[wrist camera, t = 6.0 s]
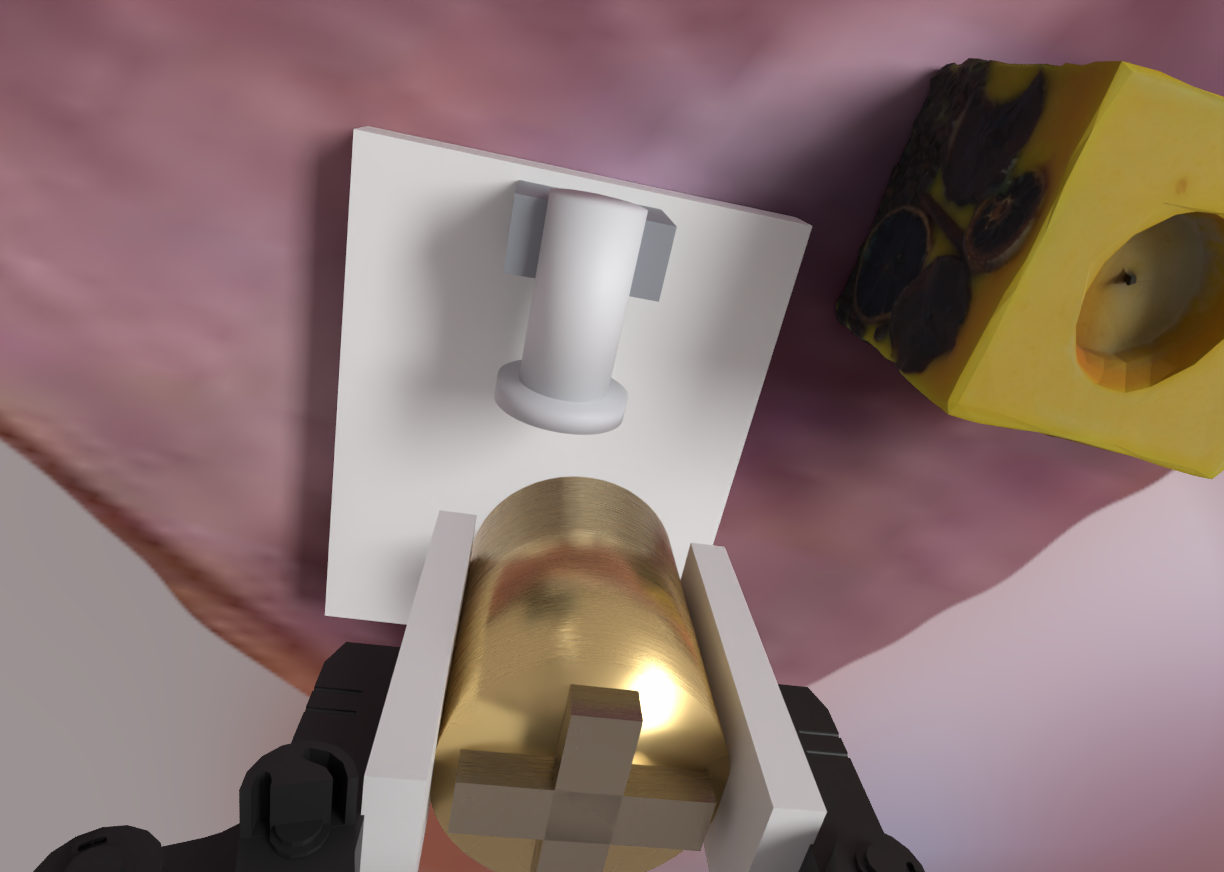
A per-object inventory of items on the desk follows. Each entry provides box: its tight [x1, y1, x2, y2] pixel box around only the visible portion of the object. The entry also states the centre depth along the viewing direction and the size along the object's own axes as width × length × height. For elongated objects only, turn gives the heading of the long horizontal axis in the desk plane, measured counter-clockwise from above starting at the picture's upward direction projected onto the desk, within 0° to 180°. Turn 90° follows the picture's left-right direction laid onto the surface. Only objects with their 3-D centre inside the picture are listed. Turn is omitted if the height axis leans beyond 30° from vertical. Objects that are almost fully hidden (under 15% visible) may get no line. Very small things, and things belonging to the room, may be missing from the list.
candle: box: [836, 58, 1224, 479], centre depth 25 cm, size 10×10×10 cm
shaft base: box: [325, 126, 812, 625], centre depth 28 cm, size 20×16×8 cm
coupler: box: [430, 476, 730, 872], centre depth 14 cm, size 5×5×7 cm
